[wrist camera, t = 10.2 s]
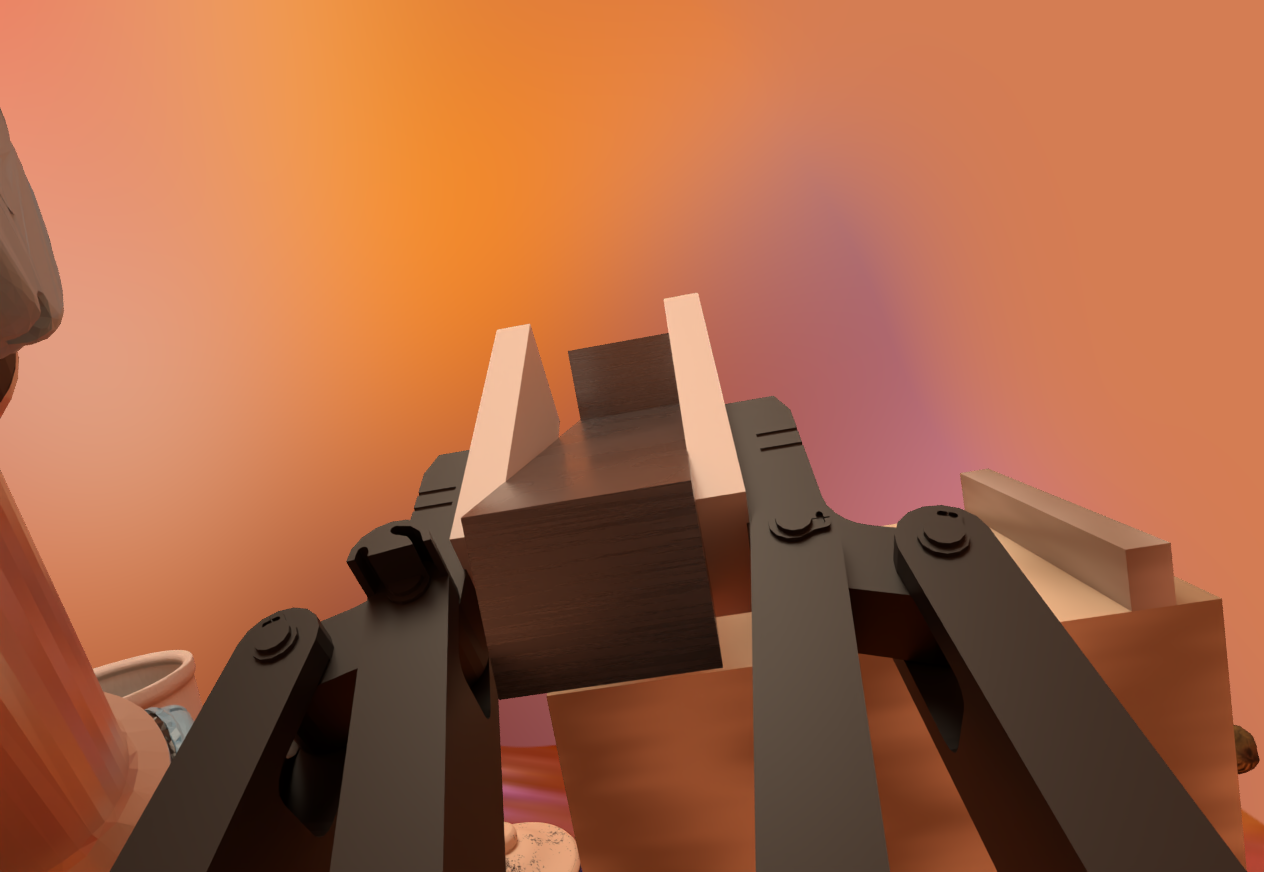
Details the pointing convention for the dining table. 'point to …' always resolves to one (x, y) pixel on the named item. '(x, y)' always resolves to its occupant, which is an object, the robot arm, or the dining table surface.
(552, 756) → the dining table surface
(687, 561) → the dark wood beam
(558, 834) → the teacup with lid
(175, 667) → the utensil holder
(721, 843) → the stand
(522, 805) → the dining table surface
